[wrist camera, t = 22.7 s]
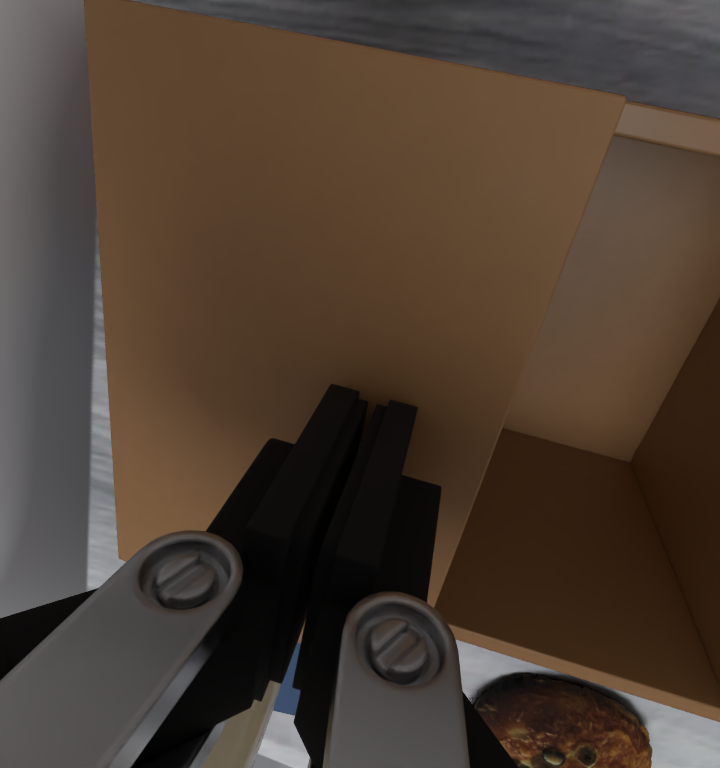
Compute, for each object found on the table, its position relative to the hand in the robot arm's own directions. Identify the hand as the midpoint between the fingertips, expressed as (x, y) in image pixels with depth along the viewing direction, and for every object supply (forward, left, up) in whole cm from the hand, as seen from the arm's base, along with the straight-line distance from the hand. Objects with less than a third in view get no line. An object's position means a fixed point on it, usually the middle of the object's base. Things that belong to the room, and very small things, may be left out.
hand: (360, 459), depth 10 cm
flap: (-2, -1, -1) cm, 2 cm away
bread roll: (+28, -11, -14) cm, 33 cm away
